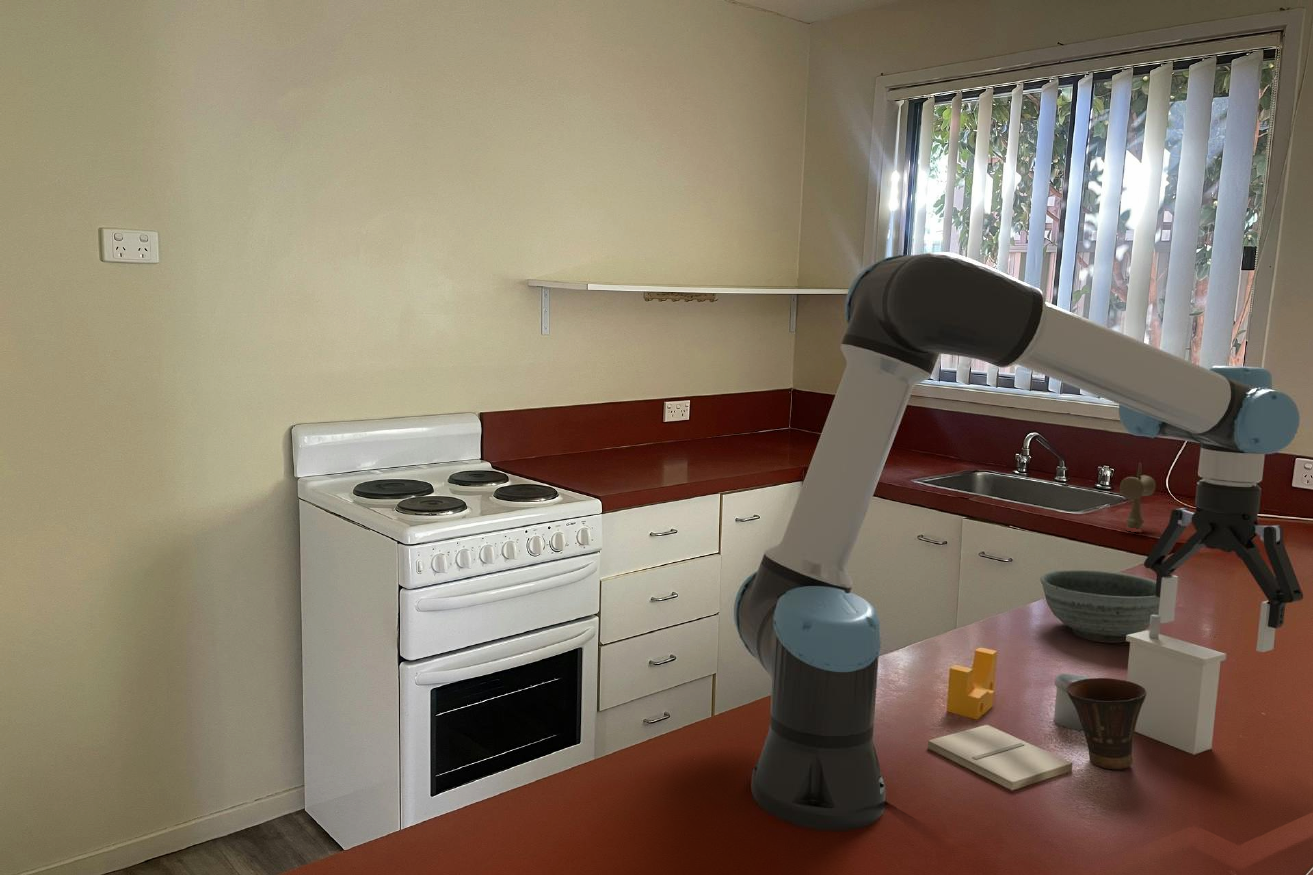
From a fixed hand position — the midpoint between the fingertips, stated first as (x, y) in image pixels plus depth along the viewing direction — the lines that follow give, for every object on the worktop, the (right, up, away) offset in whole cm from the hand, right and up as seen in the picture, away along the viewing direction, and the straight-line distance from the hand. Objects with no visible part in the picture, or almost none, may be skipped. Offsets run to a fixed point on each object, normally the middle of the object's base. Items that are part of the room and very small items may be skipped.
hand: (1213, 635), depth 138 cm
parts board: (-33, -13, -12) cm, 38 cm away
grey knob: (-19, -12, +1) cm, 22 cm away
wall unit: (-8, -13, -3) cm, 16 cm away
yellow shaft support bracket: (-30, -11, +7) cm, 33 cm away
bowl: (+2, -8, +41) cm, 41 cm away
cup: (-21, -14, -11) cm, 27 cm away
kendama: (+48, 0, +125) cm, 134 cm away
